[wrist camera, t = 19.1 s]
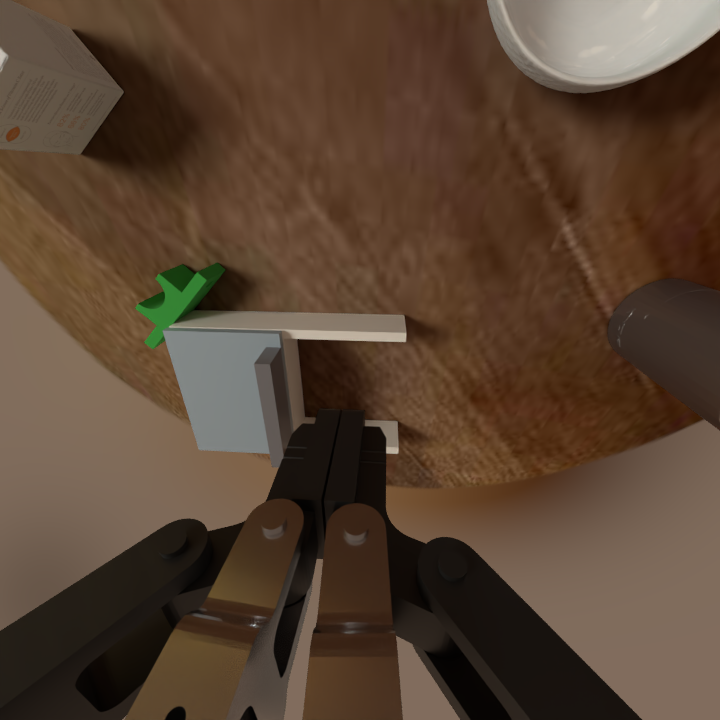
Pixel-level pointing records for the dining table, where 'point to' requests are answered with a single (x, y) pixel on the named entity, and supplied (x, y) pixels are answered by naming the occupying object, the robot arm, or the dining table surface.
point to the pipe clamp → (177, 297)
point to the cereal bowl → (600, 38)
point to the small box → (48, 85)
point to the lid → (234, 388)
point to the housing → (308, 328)
